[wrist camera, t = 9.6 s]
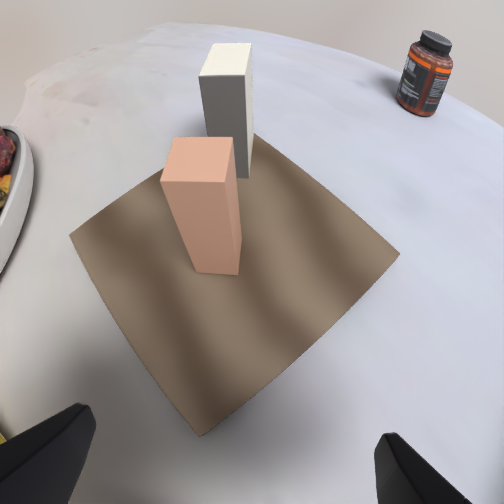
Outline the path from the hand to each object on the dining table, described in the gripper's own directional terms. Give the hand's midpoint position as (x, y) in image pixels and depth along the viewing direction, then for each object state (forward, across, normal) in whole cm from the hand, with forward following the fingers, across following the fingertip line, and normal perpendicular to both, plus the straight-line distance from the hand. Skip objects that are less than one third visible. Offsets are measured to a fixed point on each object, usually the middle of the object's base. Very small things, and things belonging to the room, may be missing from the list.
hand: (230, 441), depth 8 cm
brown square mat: (+18, +3, 0) cm, 18 cm away
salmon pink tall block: (+16, +3, 0) cm, 16 cm away
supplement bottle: (+35, -20, -17) cm, 44 cm away
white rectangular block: (+24, +3, -8) cm, 25 cm away
